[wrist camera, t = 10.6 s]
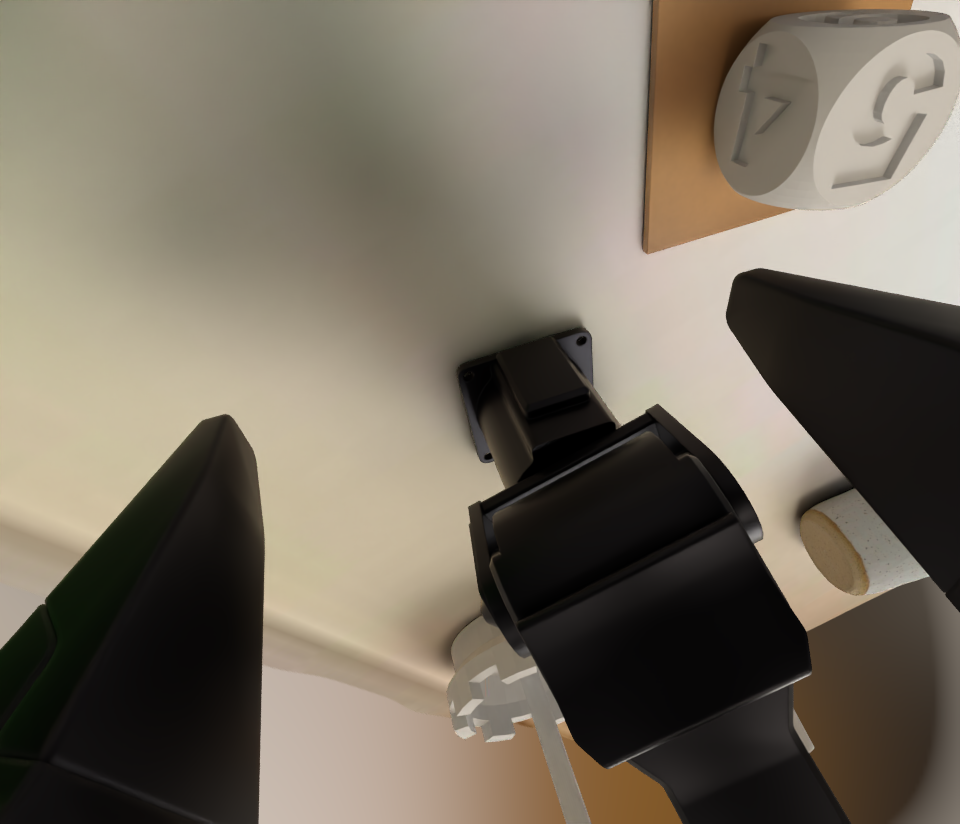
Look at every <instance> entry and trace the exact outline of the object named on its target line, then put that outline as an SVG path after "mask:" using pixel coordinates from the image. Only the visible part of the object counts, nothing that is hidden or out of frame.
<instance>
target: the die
mask: <svg viewBox="0 0 960 824" xmlns="http://www.w3.org/2000/svg"><path fill="white" fill-rule="evenodd" d="M959 91H960V38H959V35H958V32H957V29H956V26H955V25H954V23H953V21H952V19H951V17H950V16H949V15H947V14H943V13H938V12H930V11H919V10H898V9H852V10H827V11H813V12H802V13H793V14H786V15H781V16H777V17H774V18H771V19H770V20H769V21H768V22H767V23H766V24H765V25H764V26H763V27H762V28H761V29H760V30H759V31H758V32H757V33H756V34H755V35H754V36H753V37H752V38H751V40H750V41H749V42H748V43H747V45H746V46H745V47H744V48H743V50H742V51H741V53H740V54H739V56H738V57H737V59H736V60H735V62H734V63H733V65H732V67H731V68H730V70H729V72H728V74H727V76H726V79H725V81H724V83H723V86H722V89H721V92H720V95H719V99H718V103H717V107H716V113H715V121H714V145H715V152H716V157H717V161H718V164H719V167H720V170H721V172H722V174H723V176H724V177H725V179H726V180H727V182H728V183H729V185H730V186H731V188H732V189H733V190H734V191H735V192H737V193H738V194H740V195H741V196H743V197H746V198H748V199H750V200H753V201H756V202H759V203H763V204H767V205H771V206H776V207H782V208H789V209H798V210H839V209H847V208H852V207H856V206H860V205H862V204H865V203H867V202H869V201H870V200H872V199H874V198H876V197H878V196H879V195H881V194H883V193H884V192H886V191H888V190H889V189H890V188H892V187H893V186H895V185H896V184H897V183H898V182H900V181H901V180H902V179H903V178H904V177H905V176H906V175H908V174H909V173H910V172H911V171H912V170H913V169H914V168H915V167H916V166H917V164H918V163H919V162H920V161H921V160H922V159H923V158H924V156H925V155H926V154H927V153H928V151H929V150H930V149H931V147H932V146H933V145H934V143H935V142H936V140H937V139H938V137H939V136H940V134H941V132H942V131H943V129H944V127H945V125H946V124H947V122H948V120H949V118H950V116H951V113H952V111H953V109H954V106H955V104H956V101H957V98H958V95H959Z"/></svg>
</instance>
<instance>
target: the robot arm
mask: <svg viewBox="0 0 960 824" xmlns="http://www.w3.org/2000/svg"><path fill="white" fill-rule="evenodd" d="M726 320H727V324H728V326H729V328H730V329H731V331H732V332H733V334H734V335H735V337H736V338H737V340H738V341H739V343H740V344H741V346H742V347H743V349H744V350H745V352H746V353H747V355H748V356H749V358H750V359H751V361H752V362H753V364H754V365H755V367H756V368H757V370H758V371H759V373H760V374H761V376H762V377H763V379H764V380H765V381H766V383H767V384H768V386H769V387H770V388H771V389H772V391H773V392H774V393H775V394H776V396H777V397H778V398H779V399H780V401H781V402H782V403H783V404H784V405H785V406H786V408H787V409H788V410H789V411H790V412H791V413H792V415H793V416H794V417H795V418H796V419H797V421H798V422H799V423H800V424H801V425H802V426H803V428H804V429H805V430H806V431H807V432H808V434H809V435H810V436H811V437H812V438H813V439H814V441H815V442H816V443H817V444H818V445H819V447H820V448H821V449H822V450H823V451H824V452H825V454H826V455H827V456H828V457H829V458H830V459H831V461H832V462H833V463H834V464H835V465H836V467H837V468H838V469H839V470H840V471H841V472H842V474H843V475H844V476H845V477H846V478H847V480H848V481H849V482H850V483H851V484H852V485H853V487H854V488H855V489H856V490H857V491H858V492H859V494H860V495H861V496H862V497H863V498H864V500H865V501H866V502H867V503H868V504H869V505H870V507H871V508H872V509H873V510H874V511H875V513H876V514H877V515H878V516H879V517H880V518H881V520H882V521H883V522H884V523H885V524H886V526H887V527H888V528H889V529H890V530H891V531H892V533H893V534H894V535H895V536H896V537H897V538H898V540H899V541H900V542H901V543H902V544H903V546H904V547H905V548H906V549H907V550H908V551H909V553H910V554H911V555H912V556H913V557H914V559H915V560H916V561H917V562H918V563H919V564H920V566H921V567H922V568H923V569H924V570H925V571H926V573H927V574H928V575H929V576H930V577H931V578H932V580H933V581H934V582H935V583H936V584H937V585H938V587H939V588H940V589H941V590H942V591H943V592H946V594H945V595H946V597H947V598H948V599H949V600H950V602H952V604H953V605H954V606H955V607H956V609H957V610H958V611H959V612H960V306H956V305H951V304H946V303H941V302H936V301H930V300H925V299H920V298H915V297H909V296H904V295H899V294H894V293H888V292H883V291H878V290H873V289H868V288H862V287H857V286H852V285H847V284H841V283H836V282H831V281H826V280H820V279H815V278H810V277H805V276H800V275H794V274H789V273H784V272H779V271H773V270H768V269H763V268H758V269H753V270H750V271H746V272H743V273H740V274H738V275H737V276H736V277H735V279H734V280H733V283H732V288H731V292H730V297H729V302H728V306H727V311H726ZM581 336H583V338H582V339H581V340H579V341H577V339H578V338H579V337H581ZM467 372H472V373H471V374H470V375H468V376H464V375H465V373H467ZM456 375H457V379H458V383H459V386H460V390H461V394H462V398H463V401H464V405H465V409H466V413H467V416H468V420H469V424H470V428H471V431H472V435H473V439H474V443H475V446H476V450H477V454H478V457H479V459H480V461H481V462H483V463H490V462H493V461H494V462H495V465H496V467H497V469H498V472H499V474H500V477H501V479H502V482H503V484H504V487H505V490H503V491H501V492H499V493H498V494H496V495H494V496H492V497H490V498H488V499H486V500H485V501H483V502H481V501H478V502H476V503H474V504H472V505H471V506H469V507H468V509H469V516H470V524H469V528H470V535H471V542H472V549H473V556H474V563H475V569H476V576H477V583H478V590H479V593H480V596H481V613H482V615H483V618H484V619H485V621H486V622H487V623H488V624H490V625H492V626H494V627H497V628H499V629H500V631H501V632H502V634H503V635H504V637H505V639H506V640H507V642H508V643H509V645H510V646H511V647H512V649H513V650H514V651H515V652H516V653H517V654H518V655H519V656H520V657H522V658H527V657H529V656H532V658H533V659H534V661H535V663H536V665H537V667H538V669H539V670H540V672H541V674H542V676H543V678H544V680H545V682H546V683H547V685H548V687H549V689H550V691H551V693H552V695H553V696H554V698H555V700H556V702H557V704H558V706H559V708H560V710H561V713H562V715H563V717H564V719H565V722H566V724H567V726H568V728H569V730H570V733H571V735H572V737H573V739H574V741H575V742H576V743H577V744H578V746H580V747H581V748H582V749H583V750H584V751H585V752H586V753H587V754H589V755H590V756H591V757H592V758H593V759H594V760H596V762H598V763H599V764H600V765H601V766H602V767H604V768H606V769H610V768H612V767H614V766H616V765H618V764H620V763H623V762H625V761H627V762H628V763H630V764H631V765H632V766H634V767H635V768H637V769H638V770H640V771H641V772H643V773H644V774H646V775H647V776H649V777H650V778H652V779H653V780H655V781H656V782H658V783H659V784H660V785H661V786H662V787H663V788H664V789H665V791H666V793H667V795H668V797H669V798H670V800H671V802H672V804H673V806H674V808H675V809H676V812H677V813H678V815H679V817H680V819H681V821H682V823H683V824H851V822H850V821H849V819H848V817H847V816H846V814H845V812H844V811H843V809H842V807H841V806H840V804H839V802H838V801H837V799H836V797H835V796H834V794H833V792H832V791H831V789H830V787H829V786H828V784H827V783H826V781H825V779H824V777H823V776H822V774H821V772H820V771H819V769H818V767H817V766H816V764H815V762H814V761H813V759H812V757H811V756H810V754H809V752H808V751H807V749H806V747H805V745H804V744H803V742H802V740H801V739H800V737H799V735H798V733H797V732H796V730H795V728H794V725H793V683H794V682H796V681H798V680H800V679H802V678H805V677H807V676H809V675H810V674H811V672H812V666H811V659H810V651H809V644H808V637H807V633H806V630H805V629H804V627H803V625H802V624H801V622H800V621H799V619H798V618H797V616H796V615H795V614H794V612H793V611H792V609H791V608H790V606H789V604H788V602H787V600H786V598H785V597H784V595H783V593H782V592H781V590H780V588H779V587H778V585H777V583H776V581H775V580H774V578H773V576H772V575H771V573H770V571H769V569H768V568H767V566H766V564H765V563H764V561H763V559H762V558H761V556H760V554H759V552H758V551H757V549H756V547H755V546H754V543H756V542H758V541H760V540H762V539H763V531H762V527H761V524H760V521H759V519H758V517H757V514H756V513H755V511H754V509H753V507H752V505H751V503H750V501H749V500H748V498H747V496H746V495H745V493H744V491H743V490H742V488H741V487H740V485H739V484H738V482H737V481H736V479H735V478H734V477H733V475H732V474H731V473H730V471H729V470H728V469H727V467H726V466H725V465H724V464H723V463H722V461H721V460H720V459H719V458H718V457H717V456H716V455H715V454H714V453H713V452H712V451H711V450H710V449H709V448H708V447H707V446H706V445H705V444H703V443H702V442H701V441H700V440H699V439H698V438H697V437H695V436H694V435H693V434H692V433H691V432H690V431H688V430H687V429H686V428H685V427H684V426H683V425H682V424H680V423H679V422H678V421H677V420H676V419H675V418H674V417H672V416H671V415H670V414H669V413H668V412H667V411H666V410H664V409H663V408H662V407H661V406H660V405H659V404H657V405H655V406H653V407H651V408H649V409H647V410H646V413H645V414H643V415H641V416H639V417H638V418H636V419H634V420H632V421H630V422H628V423H627V424H625V425H623V426H621V425H620V424H619V422H618V421H617V419H616V418H615V417H614V415H613V414H612V412H611V411H610V410H609V408H608V407H607V405H606V404H605V403H604V401H603V400H602V398H601V397H600V396H599V394H598V393H597V391H596V390H595V389H594V387H593V363H592V337H591V334H590V333H589V332H588V331H587V330H586V329H585V328H583V327H579V328H575V329H572V330H569V331H565V332H562V333H559V334H556V335H553V336H548V337H545V338H542V339H539V340H535V341H532V342H529V343H526V344H523V345H519V346H516V347H513V348H510V349H507V350H503V351H501V352H498V353H495V354H492V355H489V356H486V357H482V358H479V359H476V360H473V361H470V362H466V363H464V364H462V365H460V366H459V367H458V369H457V371H456ZM487 453H489V454H487ZM485 454H486V455H485ZM264 561H265V539H264V527H263V517H262V508H261V499H260V490H259V481H258V472H257V463H256V458H255V454H254V451H253V449H252V447H251V446H250V444H249V442H248V441H247V439H246V438H245V436H244V434H243V433H242V431H241V430H240V428H239V427H238V425H237V423H236V422H235V420H234V419H233V418H232V417H231V416H230V415H227V414H224V415H220V416H216V417H213V418H209V419H205V420H203V421H201V422H200V423H199V424H198V425H197V427H196V428H195V429H194V430H193V431H192V432H191V433H190V435H189V436H188V437H187V438H186V439H185V440H184V441H183V443H182V444H181V445H180V446H179V447H178V448H177V449H176V451H175V452H174V453H173V454H172V455H171V456H170V457H169V459H168V460H167V461H166V462H165V463H164V464H163V465H162V467H161V468H160V469H159V470H158V471H157V472H156V473H155V474H154V476H153V477H152V478H151V479H150V480H149V481H148V482H147V484H146V485H145V486H144V487H143V488H142V489H141V490H140V492H139V493H138V494H137V495H136V496H135V497H134V498H133V500H132V501H131V502H130V503H129V504H128V505H127V506H126V508H125V509H124V510H123V511H122V512H121V513H120V514H119V516H118V517H117V518H116V519H115V520H114V521H113V522H112V524H111V525H110V526H109V527H108V528H107V529H106V530H105V532H104V533H103V534H102V535H101V536H100V537H99V538H98V540H97V541H96V542H95V543H94V544H93V545H92V546H91V548H90V549H89V550H88V551H87V552H86V553H85V554H84V556H83V557H82V558H81V559H80V560H79V561H78V562H77V563H76V565H75V566H74V567H73V568H72V569H71V570H70V571H69V573H68V574H67V575H66V576H65V577H64V578H63V579H62V581H61V582H60V583H59V584H58V585H57V586H56V587H55V589H54V590H53V591H52V592H51V593H50V594H49V595H48V597H47V598H46V599H45V604H42V605H40V606H39V607H38V608H37V609H36V610H35V611H34V612H33V614H32V615H31V616H30V617H29V618H28V619H27V620H26V622H25V623H24V624H23V625H22V626H21V627H20V628H19V630H18V631H17V632H16V633H15V634H14V635H13V636H12V637H11V638H10V640H9V641H8V642H7V643H6V644H5V645H4V646H3V647H2V648H1V649H0V824H258V818H259V774H260V732H261V731H260V730H261V689H262V647H263V604H264Z"/></svg>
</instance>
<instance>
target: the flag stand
mask: <svg viewBox="0 0 960 824" xmlns="http://www.w3.org/2000/svg"><path fill="white" fill-rule="evenodd" d="M451 656H452V660H453V665H454V669H455V675H454V676H453V678H452V680H451V681H450V683H449V685H448V688H447V691H446V692H447V699H448V704H449V709H450V714H451V718H452V723H453V727H454V731H455V733H456V734H457V735H458V736H459V737H461V738H463V739H467V738H469V737H471V736H473V735H474V734H476V729H475V726H478V727H481V728H482V732H483V736H484V740H485V742H494V741H502V740H508V739H512V738H513V736H514V735H515V730H514V726H513V723H514V722H518V721H522V720H526V719H529V718H533V721H534V724H535V727H536V730H537V733H538V736H539V739H540V742H541V746H542V749H543V752H544V755H545V758H546V761H547V764H548V768H549V771H550V774H551V777H552V780H553V783H554V786H555V789H556V792H557V796H558V799H559V802H560V805H561V808H562V811H563V815H564V817H565V821H566V824H591V822H590V819H589V816H588V813H587V810H586V807H585V804H584V801H583V798H582V796H581V793H580V790H579V787H578V785H577V781H576V778H575V776H574V773H573V770H572V767H571V764H570V761H569V758H568V756H567V753H566V750H565V747H564V744H563V741H562V738H561V735H560V733H559V730H558V727H557V724H559V723H561V722H563V721H565V719H564V717H563V715H562V713H561V710H560V708H559V706H558V704H557V702H556V700H555V698H554V696H553V695H552V693H551V691H550V689H549V687H548V685H547V683H546V682H545V680H544V678H543V676H542V674H541V672H540V670H539V669H538V667H537V665H536V663H535V661H534V659H533V658H532V656H529V657H527V658H522V657H520V656H519V655H518V654H517V653H516V652H515V651H514V650H513V649H512V647H511V646H510V645H509V643H508V642H507V640H506V639H505V637H504V635H503V634H502V632H501V631H500V629H499V628H497V627H494V626H492V625H490V624H488V623H487V622H486V621H485V619H484V618H483V615H481V616H480V617H478V618H477V619H475V620H474V621H472V622H471V623H470V624H468V625H467V626H466V627H465V628H464V629H463V630H462V631H461V632H460V633H459V634H458V635H457V637H456V638H455V640H454V642H453V644H452V647H451Z"/></svg>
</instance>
